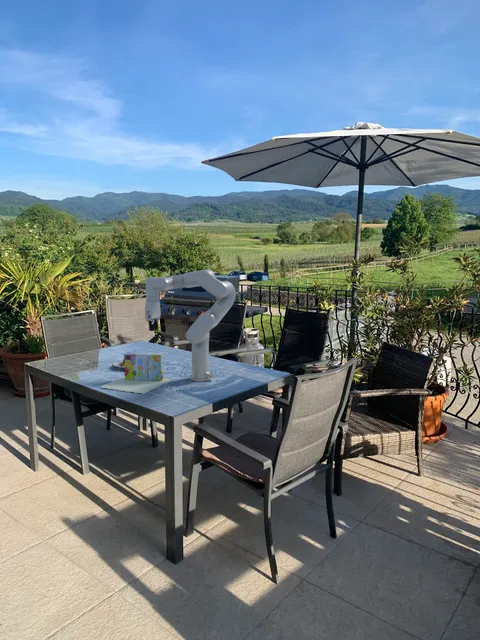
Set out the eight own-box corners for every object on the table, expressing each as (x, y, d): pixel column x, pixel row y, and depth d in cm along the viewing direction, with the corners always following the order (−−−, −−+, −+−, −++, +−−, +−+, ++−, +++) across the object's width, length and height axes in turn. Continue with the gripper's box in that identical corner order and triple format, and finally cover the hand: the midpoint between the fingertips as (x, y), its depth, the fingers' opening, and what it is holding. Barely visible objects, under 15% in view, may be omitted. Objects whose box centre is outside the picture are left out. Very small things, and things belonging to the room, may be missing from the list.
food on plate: (104, 369, 265) (103, 359, 264) (128, 360, 288) (128, 351, 287) (138, 373, 255) (138, 363, 254) (161, 364, 278) (160, 354, 277)
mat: (171, 380, 242) (171, 379, 242) (143, 394, 217) (143, 393, 217) (130, 374, 252) (130, 373, 252) (99, 388, 227) (99, 386, 227)
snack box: (163, 378, 243) (163, 352, 241) (161, 381, 237) (160, 355, 235) (128, 377, 245) (127, 351, 243) (124, 380, 240) (123, 354, 237)
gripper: (155, 297, 253) (156, 327, 256) (138, 300, 238) (140, 332, 241) (166, 297, 251) (166, 328, 254) (150, 300, 236) (151, 333, 238)
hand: (153, 329), depth 247 cm, fingers open, 3 cm apart
